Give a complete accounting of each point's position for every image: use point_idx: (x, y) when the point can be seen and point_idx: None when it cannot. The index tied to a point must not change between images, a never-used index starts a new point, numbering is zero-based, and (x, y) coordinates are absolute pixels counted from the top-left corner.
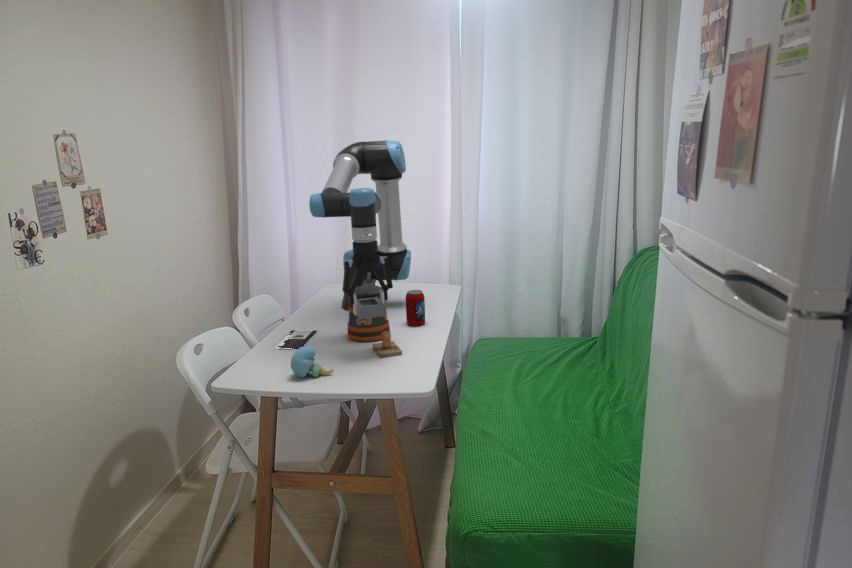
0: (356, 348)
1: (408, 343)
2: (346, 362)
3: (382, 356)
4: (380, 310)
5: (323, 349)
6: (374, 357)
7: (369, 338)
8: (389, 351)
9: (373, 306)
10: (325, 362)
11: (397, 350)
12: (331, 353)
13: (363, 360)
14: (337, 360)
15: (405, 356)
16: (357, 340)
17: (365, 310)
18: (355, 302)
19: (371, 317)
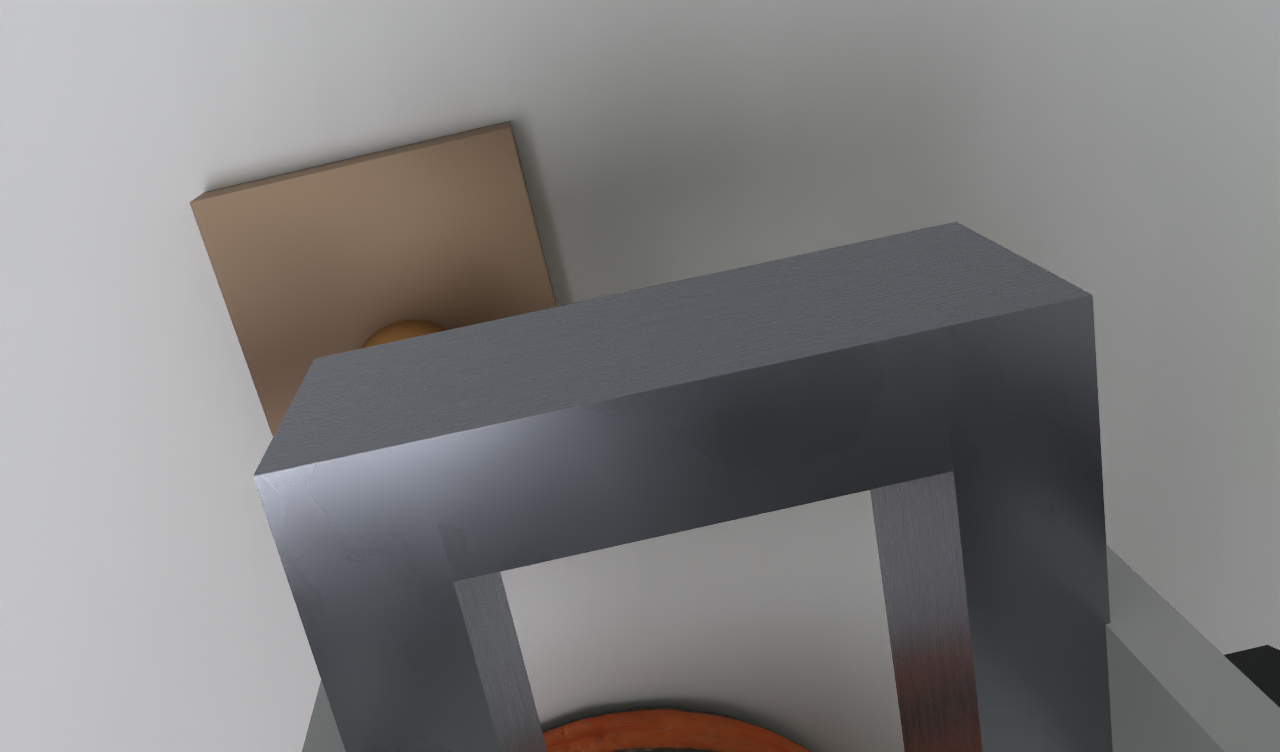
0: (804, 519)
1: (136, 595)
2: (956, 45)
3: (476, 131)
4: (423, 389)
5: (1181, 544)
6: (586, 161)
7: (643, 731)
8: (373, 218)
9: (631, 391)
10: (1209, 101)
11: (256, 237)
12: (1106, 400)
13: (735, 75)
14: (1060, 143)
15: (149, 116)
16: (784, 738)
17: (862, 313)
18: (1182, 662)
19: (669, 284)
